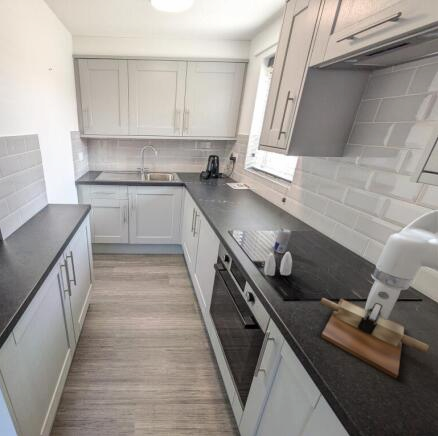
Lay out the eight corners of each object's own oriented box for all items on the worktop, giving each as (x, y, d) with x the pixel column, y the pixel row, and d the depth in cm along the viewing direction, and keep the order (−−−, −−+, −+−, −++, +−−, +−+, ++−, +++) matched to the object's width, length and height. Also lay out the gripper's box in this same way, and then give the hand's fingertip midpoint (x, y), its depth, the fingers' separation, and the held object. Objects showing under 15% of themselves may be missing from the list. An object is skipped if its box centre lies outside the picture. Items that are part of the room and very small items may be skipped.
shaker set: (288, 272, 101) (294, 249, 96) (293, 277, 97) (300, 255, 93) (260, 270, 101) (266, 248, 97) (264, 276, 97) (270, 253, 93)
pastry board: (339, 302, 84) (340, 298, 83) (401, 330, 73) (404, 326, 72) (320, 338, 69) (322, 333, 68) (395, 380, 58) (398, 375, 57)
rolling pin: (317, 308, 78) (321, 298, 76) (321, 302, 80) (325, 292, 79) (422, 359, 61) (430, 348, 60) (422, 350, 64) (430, 338, 62)
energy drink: (275, 247, 121) (281, 227, 116) (286, 251, 117) (292, 230, 113) (271, 251, 118) (277, 229, 113) (282, 255, 114) (289, 233, 109)
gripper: (409, 297, 56) (378, 350, 63) (411, 271, 66) (385, 320, 73) (368, 282, 61) (344, 333, 68) (376, 260, 72) (355, 306, 78)
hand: (366, 325), depth 70 cm, fingers closed on rolling pin, 4 cm apart
